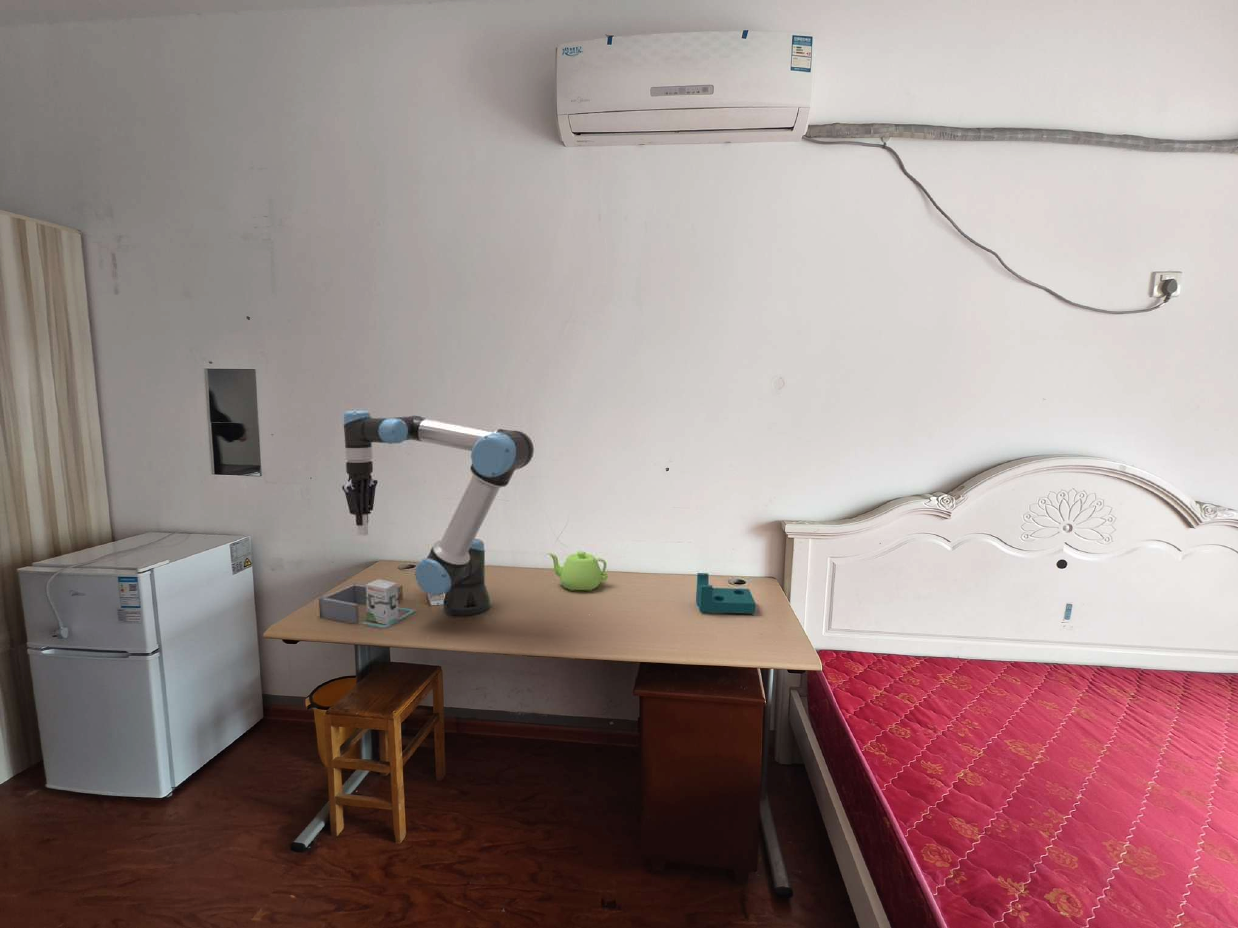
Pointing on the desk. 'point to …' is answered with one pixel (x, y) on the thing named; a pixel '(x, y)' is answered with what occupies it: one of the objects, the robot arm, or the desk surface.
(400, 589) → the walnut block
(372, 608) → the ink box
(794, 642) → the desk surface
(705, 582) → the teal l-shaped bracket
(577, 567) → the teapot
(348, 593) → the cubby
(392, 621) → the frame
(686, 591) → the desk surface
